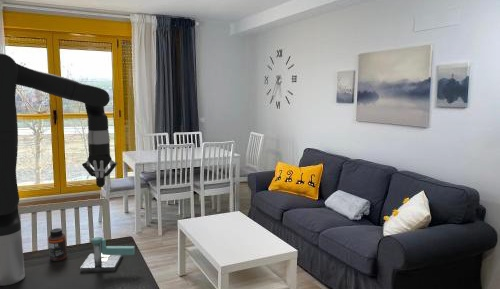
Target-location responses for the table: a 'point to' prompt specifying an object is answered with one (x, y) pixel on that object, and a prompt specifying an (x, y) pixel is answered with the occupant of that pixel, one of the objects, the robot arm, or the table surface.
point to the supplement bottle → (57, 245)
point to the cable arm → (113, 248)
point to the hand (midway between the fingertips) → (100, 186)
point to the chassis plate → (100, 261)
